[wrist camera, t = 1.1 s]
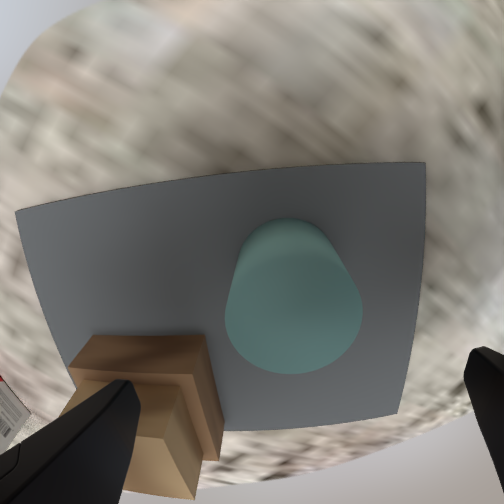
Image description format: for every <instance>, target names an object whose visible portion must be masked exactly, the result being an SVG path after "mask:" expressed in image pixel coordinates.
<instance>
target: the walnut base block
mask: <svg viewBox="0 0 504 504" xmlns="http://www.w3.org/2000/svg"><path fill="white" fill-rule="evenodd" d="M68 370H69V372H70V374H71V376H72V378H73V380H74V382H75V384H76V386H77V388H78V387H79V385H80V384H81V382H82V381H83V380H92V381H101V382H112V381H114V380H116V379H125V380H130V381H131V382H132V383H133V384H140V385H160V386H181V390H182V393H183V396H184V399H185V402H186V405H187V408H188V411H189V414H190V417H191V420H192V423H193V426H194V429H195V431H196V434H197V437H198V440H199V442H200V445H201V448H202V450H203V453H204V454H203V460H207V461H219V457H220V451H221V444H222V437H223V431H224V424H225V420H224V416H223V412H222V408H221V404H220V400H219V396H218V392H217V387H216V383H215V379H214V374H213V370H212V365H211V361H210V356H209V352H208V347H207V343H206V338H205V335H166V336H119V335H92V337H91V338H90V339H89V340H88V342H87V343H86V344H85V345H84V347H83V348H82V349H81V350H80V352H79V353H78V354H77V356H76V357H75V358H74V359H73V361H72V362H71V363H70V365H69V366H68Z"/></svg>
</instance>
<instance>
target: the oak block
mask: <svg viewBox="0 0 504 504" xmlns="http://www.w3.org/2000/svg"><path fill="white" fill-rule="evenodd" d="M109 383H111V382H101V381H92V380H83V381H82V382H81V384H80V385H79V387H78V388H77V390H76V391H75V393H74V394H73V396H72V397H71V399H70V400H69V402H68V403H67V405H66V406H65V408H64V409H63V411H62V412H61V414H60V416H62V415H63V414H65V413H66V412H68V411H69V410H71V409H72V408H74V407H75V406H77V405H78V404H80V403H81V402H83V401H84V400H86V399H87V398H89V397H90V396H92V395H93V394H95V393H96V392H98V391H99V390H100V389H102V388H103V387H105V386H106V385H108V384H109ZM133 386H134V388H135V390H136V393H137V395H138V398H139V400H140V403H141V412H140V417H139V422H138V427H137V433H136V438H135V444H134V449H133V454H132V458H131V462H130V465H129V469H128V472H127V475H126V479H125V482H124V486H123V490H128V491H133V492H138V493H144V494H150V495H157V496H164V497H172V498H180V499H190V500H195V496H196V490H197V485H198V480H199V475H200V470H201V465H202V460H203V454H204V453H203V450H202V448H201V445H200V442H199V440H198V437H197V434H196V431H195V429H194V426H193V423H192V420H191V417H190V414H189V411H188V408H187V405H186V402H185V399H184V396H183V393H182V390H181V386H160V385H140V384H133ZM60 416H59V417H60ZM59 417H58V418H59Z"/></svg>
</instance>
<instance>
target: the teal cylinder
mask: <svg viewBox="0 0 504 504" xmlns="http://www.w3.org/2000/svg"><path fill="white" fill-rule="evenodd" d="M362 315H363V306H362V301H361V297H360V294H359V291H358V289H357V287H356V285H355V283H354V282H353V280H352V278H351V276H350V275H349V273H348V271H347V269H346V268H345V266H344V264H343V263H342V261H341V259H340V258H339V256H338V254H337V252H336V251H335V249H334V247H333V246H332V244H331V242H330V241H329V239H328V238H327V236H326V235H325V234H324V233H323V232H322V231H321V230H320V229H319V228H317V227H316V226H315V225H313V224H311V223H309V222H307V221H304V220H301V219H296V218H279V219H275V220H271V221H268V222H266V223H264V224H262V225H261V226H259V227H257V228H256V229H255V230H254V231H253V232H252V233H251V234H250V235H249V236H248V237H247V238H246V240H245V241H244V243H243V245H242V247H241V250H240V252H239V256H238V260H237V264H236V268H235V272H234V276H233V280H232V284H231V288H230V292H229V296H228V300H227V305H226V309H225V326H226V330H227V334H228V336H229V339H230V341H231V343H232V344H233V346H234V348H235V349H236V350H237V351H238V353H239V354H240V355H241V356H243V357H244V358H245V359H246V360H247V361H249V362H250V363H252V364H253V365H255V366H257V367H259V368H262V369H264V370H267V371H270V372H274V373H280V374H300V373H307V372H311V371H314V370H317V369H320V368H322V367H324V366H326V365H328V364H330V363H332V362H333V361H335V360H336V359H338V358H339V357H340V356H341V355H342V354H343V353H344V352H345V351H346V350H347V349H348V348H349V347H350V346H351V344H352V343H353V341H354V340H355V338H356V336H357V334H358V332H359V329H360V326H361V322H362Z"/></svg>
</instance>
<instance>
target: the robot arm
mask: <svg viewBox="0 0 504 504" xmlns="http://www.w3.org/2000/svg"><path fill="white" fill-rule="evenodd" d="M464 382H465V385H466V388H467V391H468V394H469V397H470V400H471V403H472V406H473V409H474V413H475V416H476V419H477V422H478V425H479V427H480V430H481V432H482V435H483V437H484V440H485V442H486V445H487V447H488V450H489V452H490V455H491V458H492V460H493V463H494V465H495V469H496V471H497V474H498V477H499V480H500V483H501V486H502V489H503V492H504V355H503V354H501V353H498V352H496V351H494V350H492V349H490V348H487V347H485V346H482V347H478V348H475V349H473V350H472V351H471V352H470V354H469V357H468V361H467V364H466V367H465V370H464ZM140 412H141V403H140V400H139V398H138V395H137V393H136V390H135V388H134V386H133V383H132V382H131V381H130V380H125V379H116V380H114V381H112V382H111V383H109V384H108V385H106V386H105V387H103V388H102V389H100V390H99V391H98V392H96V393H95V394H93V395H92V396H90V397H89V398H87V399H86V400H84V401H83V402H81V403H80V404H78V405H77V406H75V407H74V408H72V409H71V410H69V411H68V412H66V413H65V414H63V415H62V416H60V417H59V418H57V419H56V420H54V421H52V422H51V423H49V424H48V425H46V426H45V427H43V428H42V429H40V430H39V431H37V432H36V433H34V434H33V435H31V436H29V437H28V438H26V439H25V440H23V441H22V442H21V443H18V444H17V445H15V446H14V447H12V448H11V449H9V450H7V451H6V452H4V453H2V454H1V455H0V504H118V503H119V499H120V496H121V493H122V489H123V486H124V482H125V479H126V475H127V472H128V469H129V465H130V462H131V458H132V454H133V449H134V444H135V438H136V433H137V427H138V422H139V417H140Z"/></svg>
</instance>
